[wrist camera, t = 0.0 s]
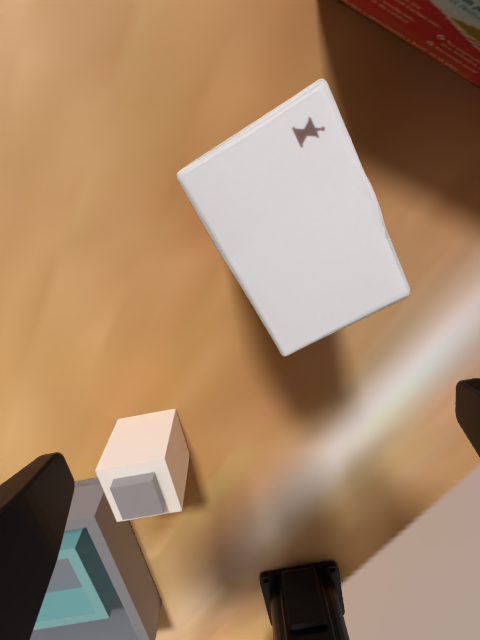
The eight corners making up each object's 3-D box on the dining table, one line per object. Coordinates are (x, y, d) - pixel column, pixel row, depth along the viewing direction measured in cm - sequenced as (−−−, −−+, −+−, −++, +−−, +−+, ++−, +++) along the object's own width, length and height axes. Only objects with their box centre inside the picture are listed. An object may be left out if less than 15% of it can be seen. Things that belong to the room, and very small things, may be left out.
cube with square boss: (189, 454, 27) (180, 521, 22) (135, 464, 27) (113, 532, 22) (175, 408, 25) (162, 467, 20) (118, 418, 26) (91, 480, 21)
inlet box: (161, 600, 32) (153, 648, 29) (15, 624, 33) (-8, 673, 30) (110, 475, 27) (94, 516, 24) (-61, 505, 28) (-99, 549, 25)
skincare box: (200, 171, 20) (167, 167, 9) (271, 127, 19) (329, 65, 8) (254, 268, 22) (282, 364, 11) (320, 231, 21) (421, 294, 10)
